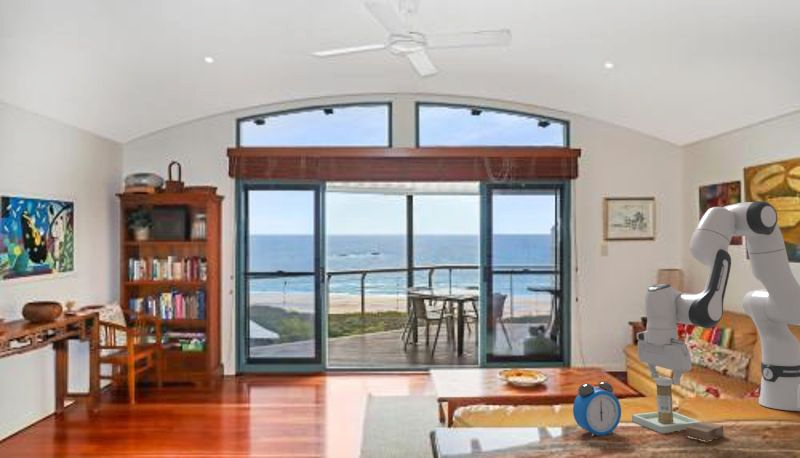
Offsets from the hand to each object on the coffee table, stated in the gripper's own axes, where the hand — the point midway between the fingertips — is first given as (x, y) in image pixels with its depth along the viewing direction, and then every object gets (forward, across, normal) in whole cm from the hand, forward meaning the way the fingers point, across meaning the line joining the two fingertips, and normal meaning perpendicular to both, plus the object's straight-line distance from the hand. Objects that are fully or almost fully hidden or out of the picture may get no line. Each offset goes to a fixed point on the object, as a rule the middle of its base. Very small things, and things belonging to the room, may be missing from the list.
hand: (665, 381), depth 189 cm
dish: (+13, 0, +1) cm, 13 cm away
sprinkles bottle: (+13, 0, +1) cm, 13 cm away
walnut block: (+13, -14, -1) cm, 19 cm away
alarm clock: (+13, 0, +25) cm, 28 cm away
